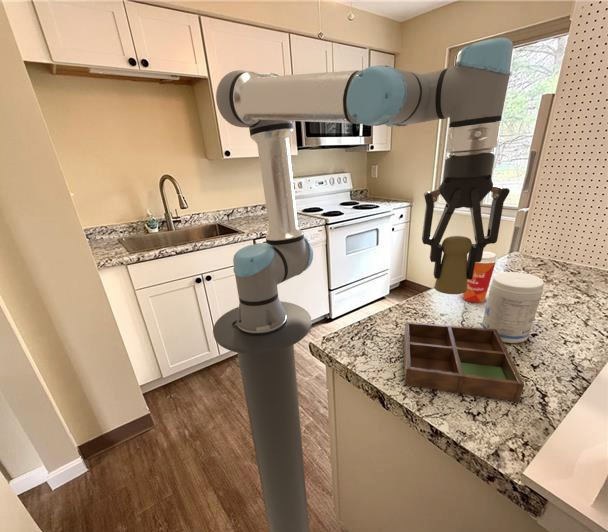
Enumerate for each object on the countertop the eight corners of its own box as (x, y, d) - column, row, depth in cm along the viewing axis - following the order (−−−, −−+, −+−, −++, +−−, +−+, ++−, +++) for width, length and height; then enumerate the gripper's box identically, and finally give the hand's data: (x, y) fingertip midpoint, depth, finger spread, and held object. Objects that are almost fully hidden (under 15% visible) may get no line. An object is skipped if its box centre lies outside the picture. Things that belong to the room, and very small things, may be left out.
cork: (463, 283, 67) (471, 232, 62) (470, 294, 61) (480, 240, 57) (432, 282, 68) (437, 233, 64) (436, 294, 63) (443, 241, 59)
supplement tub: (479, 321, 82) (490, 269, 76) (523, 327, 78) (539, 272, 72) (482, 341, 74) (495, 285, 68) (532, 348, 70) (550, 288, 64)
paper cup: (453, 296, 96) (460, 253, 90) (472, 291, 98) (480, 248, 92) (475, 306, 89) (484, 260, 84) (495, 300, 91) (505, 255, 86)
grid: (404, 384, 64) (406, 368, 62) (404, 335, 80) (405, 321, 78) (519, 402, 57) (524, 384, 55) (493, 344, 73) (496, 329, 71)
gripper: (414, 159, 54) (404, 282, 64) (543, 146, 48) (510, 285, 57) (412, 157, 60) (404, 269, 70) (526, 146, 54) (499, 271, 64)
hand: (452, 276), depth 64 cm, fingers closed on cork, 5 cm apart
